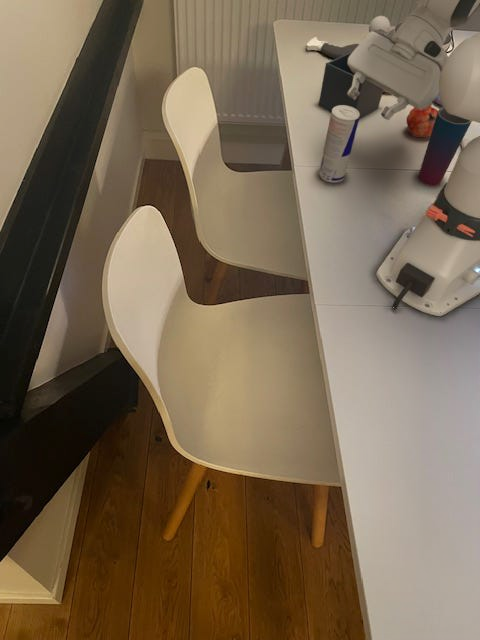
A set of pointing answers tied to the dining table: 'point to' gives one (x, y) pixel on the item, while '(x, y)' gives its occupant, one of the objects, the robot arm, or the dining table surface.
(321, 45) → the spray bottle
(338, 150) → the beverage can
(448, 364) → the dining table surface
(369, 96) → the trash bin
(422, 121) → the orange-red stemmed round figurine
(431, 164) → the cup
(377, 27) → the light bulb
